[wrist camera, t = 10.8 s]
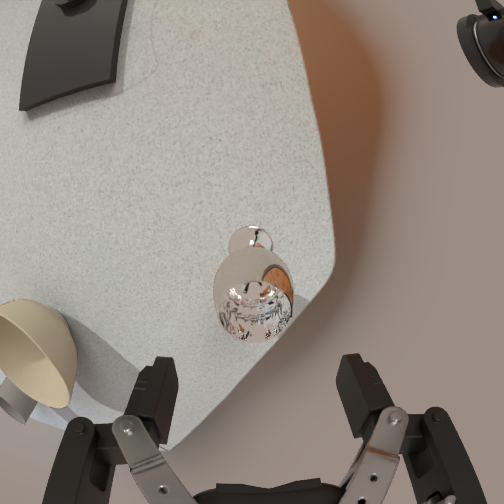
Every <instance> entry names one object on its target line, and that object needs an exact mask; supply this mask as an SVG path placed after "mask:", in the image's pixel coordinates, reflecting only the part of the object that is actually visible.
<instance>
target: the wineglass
mask: <svg viewBox="0 0 504 504" xmlns="http://www.w3.org/2000/svg"><path fill="white" fill-rule="evenodd" d="M272 248H273V245H272V240H271V238H270V236H269V235H268V233H267V232H266V231H264V230H263V229H261V228H259V227H256V226H245V227H242V228H240V229H238V230H237V231H236V232H235V233H234V234H233V235H232V236H231V238H230V241H229V253H230V255H229V256H227V257H226V258H225V259H224V260H223V262H222V263H221V265H220V266H219V268H218V270H217V272H216V275H215V278H214V283H213V300H214V306H215V309H216V313H217V317H218V320H219V322H220V324H221V326H222V328H223V329H224V330H225V331H226V332H227V333H228V334H229V335H231V336H232V337H234V338H236V339H238V340H241V341H245V342H262V341H267V340H270V339H272V338H274V337H276V336H277V335H279V334H280V333H282V332H283V331H284V329H285V328H286V327H287V326H288V324H289V322H290V320H291V317H292V311H293V305H294V284H293V279H292V276H291V273H290V271H289V269H288V267H287V265H286V264H285V263H284V261H283V260H282V259H281V258H280V257H279V256H278V255H277V254H275V253H274V252H272Z"/></svg>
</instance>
